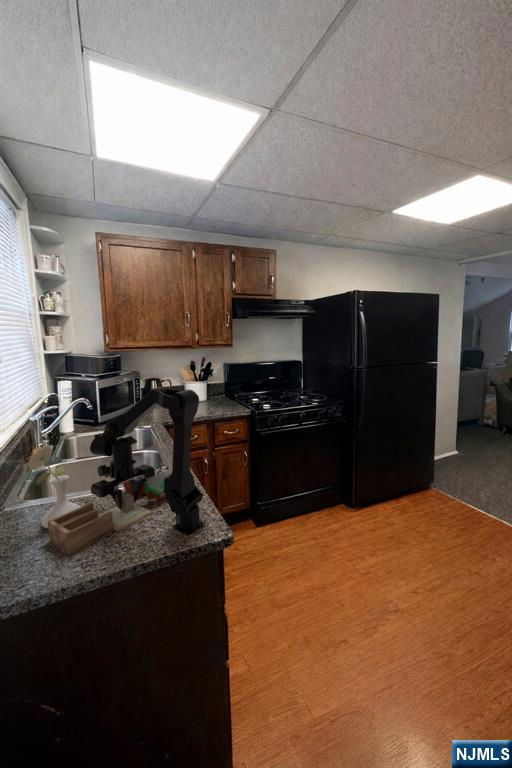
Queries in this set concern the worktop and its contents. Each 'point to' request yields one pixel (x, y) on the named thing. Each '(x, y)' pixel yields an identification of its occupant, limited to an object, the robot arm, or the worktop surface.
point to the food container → (156, 484)
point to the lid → (126, 510)
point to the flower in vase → (58, 482)
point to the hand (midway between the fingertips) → (127, 505)
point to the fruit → (128, 487)
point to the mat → (130, 521)
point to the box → (79, 528)
